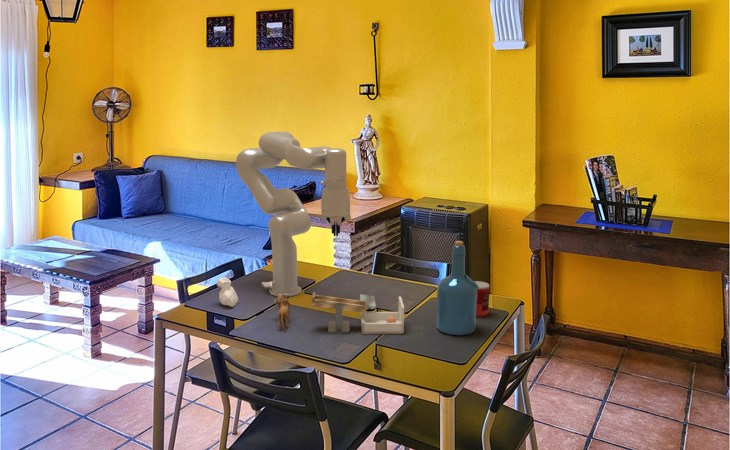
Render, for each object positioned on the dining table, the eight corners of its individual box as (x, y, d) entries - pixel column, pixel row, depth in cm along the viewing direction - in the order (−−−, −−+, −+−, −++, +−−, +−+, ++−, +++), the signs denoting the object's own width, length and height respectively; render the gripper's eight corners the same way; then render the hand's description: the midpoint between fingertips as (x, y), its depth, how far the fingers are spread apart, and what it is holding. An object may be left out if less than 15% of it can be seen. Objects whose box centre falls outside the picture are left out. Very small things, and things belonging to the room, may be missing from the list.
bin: (362, 334, 194) (362, 307, 192) (360, 321, 205) (360, 296, 203) (403, 333, 195) (404, 307, 193) (400, 321, 205) (400, 296, 203)
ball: (394, 316, 197) (397, 324, 198) (393, 313, 200) (396, 321, 201) (385, 320, 197) (388, 328, 198) (384, 316, 201) (388, 324, 201)
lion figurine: (273, 317, 209) (273, 292, 207) (289, 316, 210) (288, 291, 208) (278, 333, 195) (277, 307, 193) (294, 331, 196) (293, 305, 194)
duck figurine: (229, 304, 228) (209, 282, 225) (244, 291, 228) (225, 270, 225) (227, 315, 216) (206, 292, 213) (243, 302, 216) (223, 279, 213)
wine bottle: (439, 337, 192) (442, 246, 186) (432, 322, 205) (435, 236, 199) (481, 336, 193) (485, 246, 186) (472, 321, 206) (476, 236, 199)
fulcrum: (328, 333, 194) (327, 306, 192) (328, 323, 203) (328, 296, 201) (349, 333, 195) (349, 305, 193) (349, 322, 204) (349, 296, 202)
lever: (311, 305, 194) (312, 297, 194) (313, 290, 210) (314, 282, 209) (376, 314, 196) (377, 305, 195) (373, 298, 212) (374, 290, 211)
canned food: (463, 310, 216) (464, 281, 214) (484, 309, 217) (486, 280, 215) (468, 318, 209) (469, 287, 206) (490, 317, 209) (492, 287, 207)
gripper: (313, 185, 205) (314, 238, 209) (357, 185, 206) (357, 237, 209) (314, 182, 212) (315, 233, 216) (356, 182, 213) (356, 233, 217)
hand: (335, 235), depth 213 cm, fingers closed
